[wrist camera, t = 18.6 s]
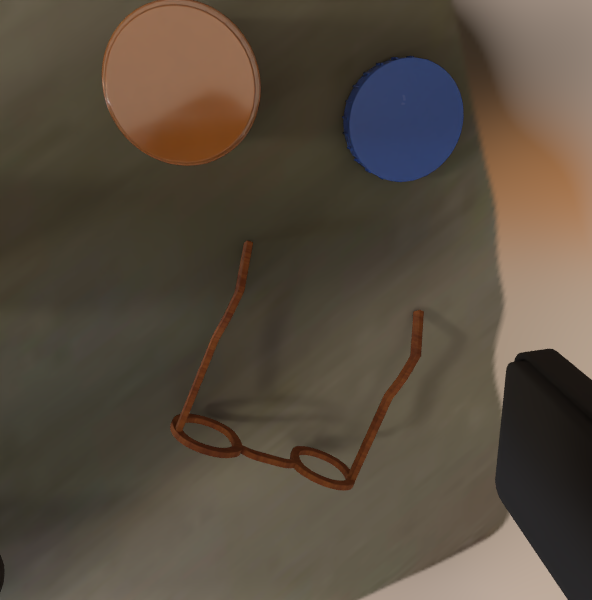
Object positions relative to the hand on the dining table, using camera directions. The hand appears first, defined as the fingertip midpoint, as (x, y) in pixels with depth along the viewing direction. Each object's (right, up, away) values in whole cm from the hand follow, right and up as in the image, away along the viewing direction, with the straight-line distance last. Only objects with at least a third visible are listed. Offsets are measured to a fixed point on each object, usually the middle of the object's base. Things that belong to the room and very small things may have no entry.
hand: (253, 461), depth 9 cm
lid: (+7, +13, +21) cm, 26 cm away
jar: (-5, +15, +20) cm, 25 cm away
